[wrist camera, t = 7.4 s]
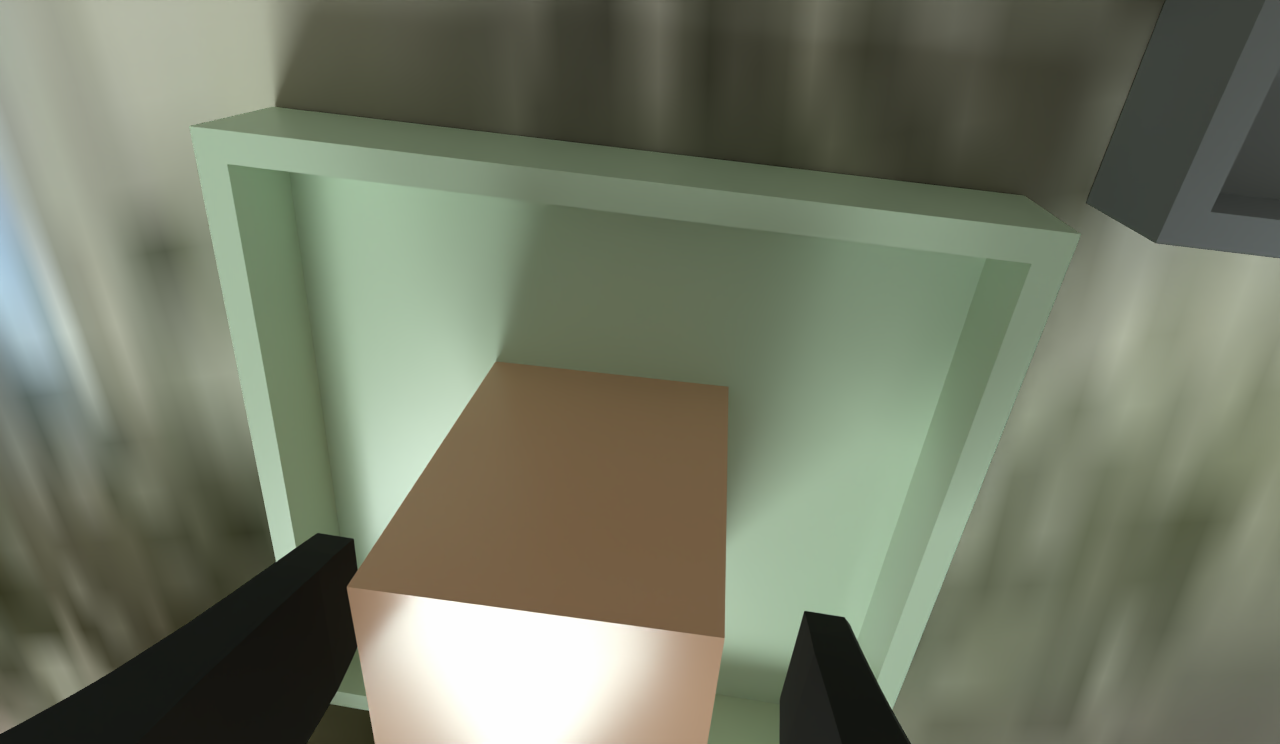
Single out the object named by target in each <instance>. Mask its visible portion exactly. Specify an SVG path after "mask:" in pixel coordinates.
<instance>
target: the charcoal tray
mask: <svg viewBox="0 0 1280 744" xmlns="http://www.w3.org/2000/svg"><path fill="white" fill-rule="evenodd" d="M1086 203H1087V204H1089V205H1091V206H1092V207H1094V208H1096V209H1097V210H1099V211H1101V212H1103V213H1104V214H1106V215H1108V216H1110V217H1111V218H1113V219H1115V220H1116V221H1118V222H1120V223H1122V224H1123V225H1125V226H1127V227H1129V228H1130V229H1132V230H1134V231H1135V232H1137V233H1139V234H1141V235H1142V236H1144V237H1146V238H1148V239H1149V240H1151V241H1153V242H1155V243H1158V244H1166V245H1175V246H1183V247H1191V248H1199V249H1208V250H1216V251H1224V252H1232V253H1241V254H1249V255H1257V256H1265V257H1274V258H1280V0H1166V1H1165V3H1164V6H1163V8H1162V11H1161V14H1160V16H1159V19H1158V21H1157V24H1156V26H1155V29H1154V31H1153V34H1152V37H1151V39H1150V42H1149V44H1148V47H1147V49H1146V52H1145V54H1144V57H1143V59H1142V62H1141V65H1140V67H1139V70H1138V72H1137V75H1136V77H1135V80H1134V82H1133V85H1132V88H1131V90H1130V93H1129V95H1128V98H1127V100H1126V103H1125V105H1124V108H1123V110H1122V113H1121V116H1120V118H1119V121H1118V123H1117V126H1116V128H1115V131H1114V133H1113V136H1112V139H1111V141H1110V144H1109V146H1108V149H1107V151H1106V154H1105V156H1104V159H1103V161H1102V164H1101V167H1100V169H1099V172H1098V174H1097V177H1096V179H1095V182H1094V184H1093V187H1092V189H1091V192H1090V195H1089V197H1088V200H1087V202H1086Z"/></svg>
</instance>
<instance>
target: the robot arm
mask: <svg viewBox="0 0 1280 744" xmlns="http://www.w3.org/2000/svg"><path fill="white" fill-rule="evenodd" d="M357 570H358V568H357V560H356V552H355V544H354V539H353V538H346V537H340V536H334V535H328V534H321V533H317V534H315V535H314V536H312V537H311V538H309V539H308V540H306V541H305V542H303V543H302V544H301V545H299V546H298V547H296V548H295V549H293V550H292V551H291V552H289V553H288V554H286V555H285V556H284V557H282V558H281V559H279V560H278V561H277V562H275V563H274V564H272V565H271V566H269V567H268V568H267V569H265V570H264V571H262V572H261V573H260V574H258V575H257V576H255V577H254V578H253V579H251V580H250V581H248V582H247V583H245V584H244V585H243V586H241V587H240V588H238V589H237V590H236V591H234V592H233V593H231V594H230V595H228V596H227V597H225V598H224V599H223V600H221V601H220V602H218V603H217V604H215V605H214V606H212V607H211V608H209V609H208V610H206V611H205V612H204V613H202V614H201V615H199V616H198V617H196V618H195V619H193V620H192V621H190V622H189V623H188V624H186V625H185V626H183V627H181V628H180V629H178V630H177V631H175V632H174V633H172V634H170V635H169V636H167V637H166V638H164V639H163V640H161V641H160V642H158V643H156V644H155V645H153V646H152V647H150V648H149V649H147V650H145V651H144V652H142V653H141V654H139V655H138V656H136V657H134V658H133V659H131V660H130V661H128V662H127V663H125V664H123V665H122V666H120V667H119V668H117V669H116V670H114V671H112V672H111V673H109V674H107V675H106V676H104V677H102V678H101V679H99V680H97V681H96V682H94V683H92V684H90V685H89V686H87V687H85V688H84V689H82V690H80V691H78V692H77V693H75V694H73V695H71V696H70V697H68V698H66V699H64V700H62V701H61V702H59V703H57V704H55V705H53V706H52V707H50V708H48V709H46V710H44V711H42V712H41V713H39V714H37V715H35V716H33V717H32V718H30V719H28V720H26V721H24V722H22V723H21V724H19V725H17V726H15V727H13V728H11V729H9V730H7V731H5V732H3V733H1V734H0V744H306V743H307V742H308V740H309V738H310V737H311V735H312V733H313V732H314V730H315V728H316V727H317V725H318V723H319V722H320V720H321V718H322V716H323V715H324V713H325V711H326V710H327V708H328V706H329V705H330V703H331V701H332V700H333V698H334V696H335V694H336V693H337V691H338V689H339V687H340V685H341V682H342V680H343V678H344V676H345V674H346V672H347V670H348V668H349V665H350V663H351V661H352V659H353V656H354V654H355V652H356V650H357V641H356V636H355V630H354V625H353V619H352V614H351V608H350V603H349V597H348V592H347V586H348V584H349V583H350V581H351V580H352V578H353V577H354V575H355V574H356V572H357ZM779 744H911V743H910V741H909V740H908V738H907V736H906V734H905V733H904V731H903V729H902V727H901V725H900V724H899V722H898V720H897V718H896V716H895V714H894V713H893V711H892V709H891V707H890V705H889V703H888V701H887V699H886V698H885V696H884V694H883V692H882V690H881V688H880V686H879V684H878V682H877V680H876V678H875V676H874V674H873V672H872V670H871V668H870V666H869V664H868V662H867V660H866V658H865V656H864V654H863V652H862V649H861V647H860V645H859V643H858V641H857V639H856V637H855V634H854V632H853V630H852V628H851V626H850V624H849V622H848V621H847V620H846V619H845V617H841V616H834V615H828V614H822V613H816V612H809V611H804V614H803V617H802V621H801V624H800V628H799V632H798V635H797V639H796V642H795V646H794V650H793V653H792V657H791V660H790V664H789V667H788V671H787V675H786V678H785V682H784V685H783V689H782V692H781V696H780V727H779Z"/></svg>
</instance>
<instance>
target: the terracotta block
mask: <svg viewBox="0 0 1280 744" xmlns="http://www.w3.org/2000/svg"><path fill="white" fill-rule="evenodd" d="M728 389H729V387H726V386H717V385H708V384H699V383H690V382H680V381H671V380H662V379H653V378H644V377H635V376H625V375H616V374H607V373H598V372H589V371H580V370H570V369H561V368H552V367H543V366H534V365H525V364H515V363H506V362H497V361H496V362H495V363H494V365H493V366H492V368H491V369H490V371H489V372H488V374H487V375H486V377H485V378H484V380H483V381H482V383H481V384H480V386H479V387H478V389H477V390H476V392H475V393H474V395H473V396H472V398H471V399H470V401H469V402H468V404H467V405H466V407H465V408H464V410H463V411H462V413H461V415H460V416H459V418H458V419H457V421H456V422H455V424H454V425H453V427H452V428H451V430H450V431H449V433H448V434H447V436H446V437H445V439H444V440H443V442H442V443H441V445H440V446H439V448H438V449H437V451H436V452H435V454H434V455H433V457H432V458H431V460H430V461H429V463H428V464H427V466H426V468H425V469H424V471H423V472H422V474H421V475H420V477H419V478H418V480H417V481H416V483H415V484H414V486H413V487H412V489H411V490H410V492H409V493H408V495H407V496H406V498H405V499H404V501H403V502H402V504H401V505H400V507H399V508H398V510H397V511H396V513H395V514H394V516H393V517H392V519H391V521H390V522H389V524H388V525H387V527H386V528H385V530H384V531H383V533H382V534H381V536H380V537H379V539H378V540H377V542H376V543H375V545H374V546H373V548H372V549H371V551H370V552H369V554H368V555H367V557H366V558H365V560H364V561H363V563H362V564H361V566H360V567H359V569H358V570H357V572H356V574H355V575H354V577H353V578H352V580H351V581H350V583H349V584H348V586H347V592H348V597H349V603H350V608H351V614H352V619H353V625H354V630H355V636H356V641H357V647H358V652H359V658H360V663H361V669H362V674H363V680H364V685H365V691H366V696H367V702H368V708H369V713H370V719H371V724H372V730H373V735H374V741H375V744H707V743H708V737H709V731H710V724H711V718H712V712H713V706H714V700H715V694H716V688H717V682H718V676H719V670H720V664H721V657H722V651H723V645H724V639H725V584H726V519H727V454H728Z"/></svg>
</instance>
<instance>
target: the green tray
mask: <svg viewBox="0 0 1280 744" xmlns="http://www.w3.org/2000/svg"><path fill="white" fill-rule="evenodd" d="M189 128H190V133H191V138H192V143H193V148H194V153H195V158H196V163H197V168H198V173H199V178H200V183H201V188H202V193H203V198H204V203H205V208H206V213H207V218H208V223H209V228H210V233H211V238H212V243H213V248H214V253H215V258H216V263H217V268H218V273H219V278H220V283H221V288H222V293H223V298H224V303H225V308H226V313H227V318H228V323H229V328H230V333H231V338H232V343H233V348H234V353H235V358H236V363H237V369H238V374H239V379H240V384H241V389H242V394H243V399H244V404H245V409H246V414H247V419H248V424H249V429H250V434H251V439H252V444H253V449H254V454H255V459H256V464H257V469H258V474H259V479H260V484H261V489H262V494H263V499H264V504H265V509H266V514H267V519H268V524H269V529H270V534H271V539H272V544H273V549H274V554H275V559H276V562H277V561H278V560H279V559H281V558H282V557H284V556H285V555H286V554H288V553H289V552H291V551H292V550H293V549H295V548H296V547H298V546H299V545H301V544H302V543H303V542H305V541H306V540H308V539H309V538H311V537H312V536H314V535H315V534H317V533H321V534H328V535H334V536H340V537H346V538H353V539H354V544H355V552H356V560H357V568H358V569H359V567H360V566H361V564H362V563H363V561H364V560H365V558H366V557H367V555H368V554H369V552H370V551H371V549H372V548H373V546H374V545H375V543H376V542H377V540H378V539H379V537H380V536H381V534H382V533H383V531H384V530H385V528H386V527H387V525H388V524H389V522H390V521H391V519H392V517H393V516H394V514H395V513H396V511H397V510H398V508H399V507H400V505H401V504H402V502H403V501H404V499H405V498H406V496H407V495H408V493H409V492H410V490H411V489H412V487H413V486H414V484H415V483H416V481H417V480H418V478H419V477H420V475H421V474H422V472H423V471H424V469H425V468H426V466H427V464H428V463H429V461H430V460H431V458H432V457H433V455H434V454H435V452H436V451H437V449H438V448H439V446H440V445H441V443H442V442H443V440H444V439H445V437H446V436H447V434H448V433H449V431H450V430H451V428H452V427H453V425H454V424H455V422H456V421H457V419H458V418H459V416H460V415H461V413H462V411H463V410H464V408H465V407H466V405H467V404H468V402H469V401H470V399H471V398H472V396H473V395H474V393H475V392H476V390H477V389H478V387H479V386H480V384H481V383H482V381H483V380H484V378H485V377H486V375H487V374H488V372H489V371H490V369H491V368H492V366H493V365H494V363H495V362H496V361H497V362H506V363H515V364H525V365H534V366H543V367H552V368H561V369H570V370H580V371H589V372H598V373H607V374H616V375H625V376H635V377H644V378H653V379H662V380H671V381H680V382H690V383H699V384H708V385H717V386H726V387H729V389H728V454H727V519H726V584H725V639H724V645H723V651H722V657H721V664H720V670H719V676H718V682H717V688H716V694H715V700H714V706H713V712H712V718H711V724H710V731H709V737H708V743H707V744H779V727H780V696H781V692H782V689H783V685H784V682H785V678H786V675H787V671H788V667H789V664H790V660H791V657H792V653H793V650H794V646H795V642H796V639H797V635H798V632H799V628H800V624H801V621H802V617H803V614H804V611H809V612H816V613H822V614H828V615H834V616H841V617H845V619H846V620H847V621H848V622H849V624H850V626H851V628H852V630H853V632H854V634H855V637H856V639H857V641H858V643H859V645H860V647H861V649H862V652H863V654H864V656H865V658H866V660H867V662H868V664H869V666H870V668H871V670H872V672H873V674H874V676H875V678H876V680H877V682H878V684H879V686H880V688H881V690H882V692H883V694H884V696H885V698H886V699H887V701H888V703H889V705H890V707H891V709H893V707H894V704H895V702H896V699H897V697H898V694H899V692H900V689H901V687H902V684H903V682H904V679H905V677H906V674H907V672H908V669H909V667H910V664H911V661H912V659H913V656H914V654H915V651H916V649H917V646H918V644H919V641H920V639H921V636H922V634H923V631H924V629H925V626H926V624H927V621H928V619H929V616H930V614H931V611H932V609H933V606H934V604H935V601H936V599H937V596H938V593H939V591H940V588H941V586H942V583H943V581H944V578H945V576H946V573H947V571H948V568H949V566H950V563H951V561H952V558H953V556H954V553H955V551H956V548H957V546H958V543H959V541H960V538H961V536H962V533H963V531H964V528H965V526H966V523H967V520H968V518H969V515H970V513H971V510H972V508H973V505H974V503H975V500H976V498H977V495H978V493H979V490H980V488H981V485H982V483H983V480H984V478H985V475H986V473H987V470H988V468H989V465H990V463H991V460H992V458H993V455H994V453H995V450H996V447H997V445H998V442H999V440H1000V437H1001V435H1002V432H1003V430H1004V427H1005V425H1006V422H1007V420H1008V417H1009V415H1010V412H1011V410H1012V407H1013V405H1014V402H1015V400H1016V397H1017V395H1018V392H1019V390H1020V387H1021V385H1022V382H1023V380H1024V377H1025V374H1026V372H1027V369H1028V367H1029V364H1030V362H1031V359H1032V357H1033V354H1034V352H1035V349H1036V347H1037V344H1038V342H1039V339H1040V337H1041V334H1042V332H1043V329H1044V327H1045V324H1046V322H1047V319H1048V317H1049V314H1050V312H1051V309H1052V307H1053V304H1054V301H1055V299H1056V296H1057V294H1058V291H1059V289H1060V286H1061V284H1062V281H1063V279H1064V276H1065V274H1066V271H1067V269H1068V266H1069V264H1070V261H1071V259H1072V256H1073V254H1074V251H1075V249H1076V246H1077V244H1078V241H1079V239H1080V236H1081V234H1080V233H1079V232H1077V231H1076V230H1074V229H1073V228H1071V227H1070V226H1068V225H1067V224H1065V223H1064V222H1062V221H1061V220H1059V219H1058V218H1057V217H1055V216H1054V215H1052V214H1051V213H1049V212H1048V211H1046V210H1045V209H1043V208H1042V207H1040V206H1039V205H1037V204H1036V203H1034V202H1033V201H1031V200H1030V199H1028V198H1027V197H1025V196H1023V195H1014V194H1006V193H998V192H989V191H981V190H972V189H964V188H955V187H947V186H938V185H930V184H922V183H913V182H905V181H896V180H888V179H879V178H871V177H862V176H854V175H846V174H837V173H829V172H820V171H812V170H803V169H795V168H787V167H778V166H770V165H761V164H753V163H744V162H736V161H727V160H719V159H711V158H702V157H694V156H685V155H677V154H668V153H660V152H651V151H643V150H635V149H626V148H618V147H609V146H601V145H592V144H584V143H576V142H567V141H559V140H550V139H542V138H533V137H525V136H516V135H508V134H500V133H491V132H483V131H474V130H466V129H457V128H449V127H440V126H432V125H424V124H415V123H407V122H398V121H390V120H381V119H373V118H364V117H356V116H348V115H339V114H331V113H322V112H314V111H305V110H297V109H289V108H280V107H270V108H265V109H261V110H257V111H252V112H248V113H244V114H239V115H235V116H231V117H227V118H222V119H218V120H214V121H209V122H205V123H201V124H196V125H192V126H189ZM330 704H333V705H339V706H345V707H350V708H356V709H362V710H368V711H369V708H368V702H367V696H366V691H365V685H364V680H363V674H362V669H361V663H360V658H359V652H358V647H357V650H356V652H355V654H354V656H353V659H352V661H351V663H350V665H349V668H348V670H347V672H346V674H345V676H344V678H343V680H342V682H341V685H340V687H339V689H338V691H337V693H336V694H335V696H334V698H333V700H332V701H331V703H330Z"/></svg>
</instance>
